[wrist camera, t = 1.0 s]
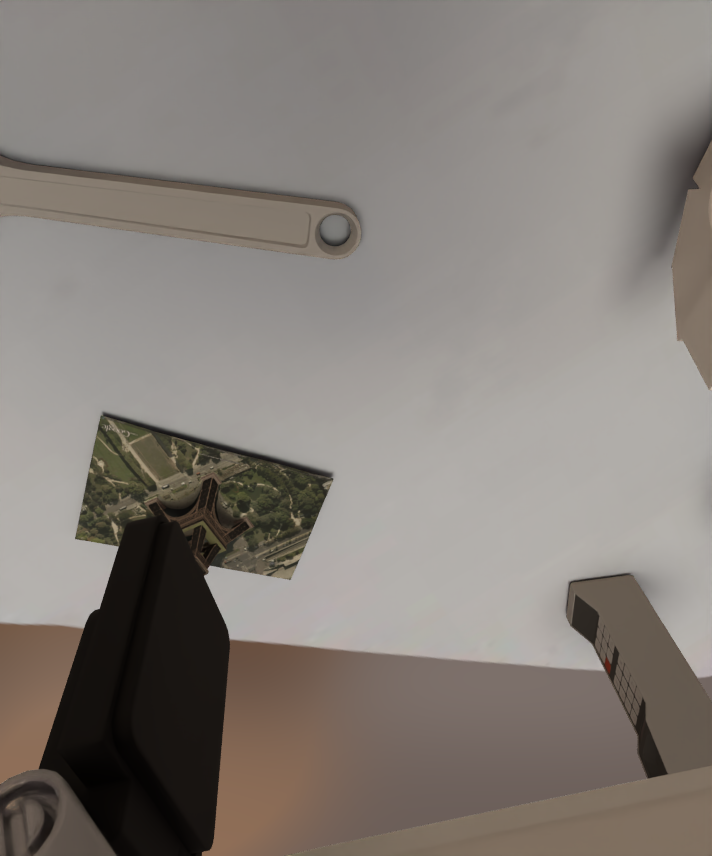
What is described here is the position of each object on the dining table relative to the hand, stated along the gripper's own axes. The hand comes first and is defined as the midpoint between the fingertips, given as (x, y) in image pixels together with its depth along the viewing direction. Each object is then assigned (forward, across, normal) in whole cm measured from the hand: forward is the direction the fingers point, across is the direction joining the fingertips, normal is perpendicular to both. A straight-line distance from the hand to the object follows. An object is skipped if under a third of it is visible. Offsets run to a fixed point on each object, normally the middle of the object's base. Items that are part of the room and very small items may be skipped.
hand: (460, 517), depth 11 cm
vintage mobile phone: (+27, -13, +35) cm, 46 cm away
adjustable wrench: (+27, +12, -1) cm, 29 cm away
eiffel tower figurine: (+27, +13, +18) cm, 35 cm away
